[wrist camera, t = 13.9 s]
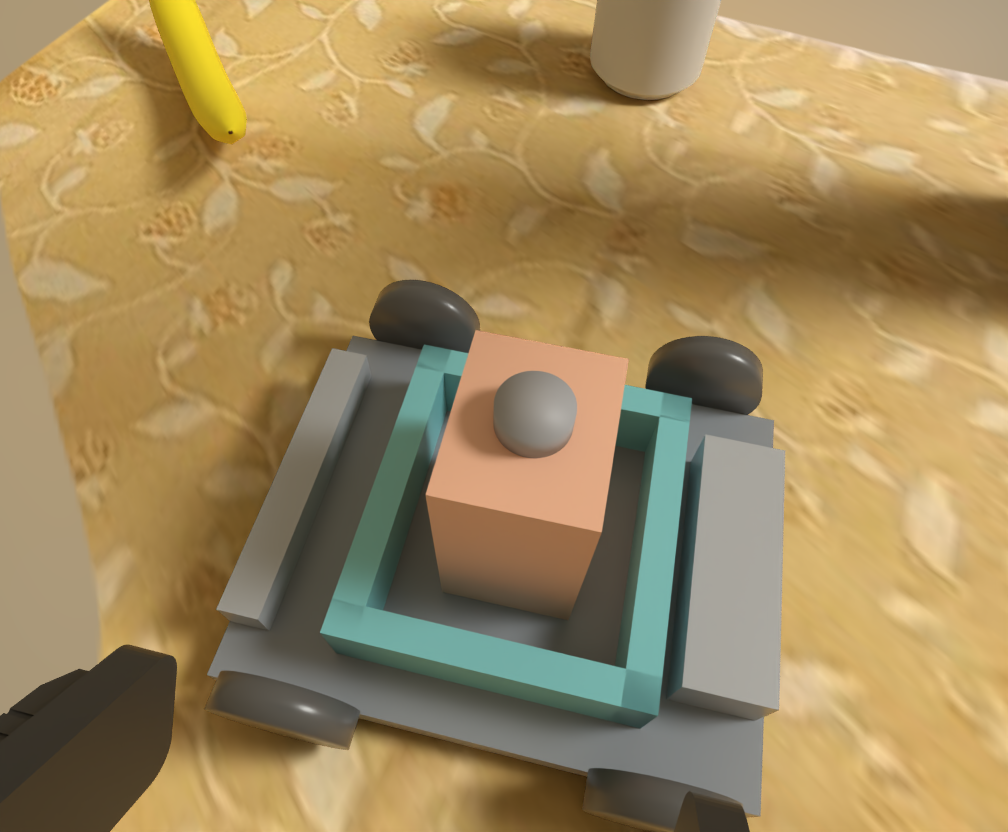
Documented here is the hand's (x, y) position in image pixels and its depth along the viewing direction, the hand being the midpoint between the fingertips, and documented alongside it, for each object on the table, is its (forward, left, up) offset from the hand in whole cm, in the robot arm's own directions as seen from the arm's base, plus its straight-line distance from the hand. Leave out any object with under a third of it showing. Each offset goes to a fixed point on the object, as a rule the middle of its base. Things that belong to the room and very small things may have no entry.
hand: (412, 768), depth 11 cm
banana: (-34, -25, -17) cm, 45 cm away
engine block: (-10, 0, -15) cm, 18 cm away
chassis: (-10, 0, -17) cm, 19 cm away
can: (-45, +1, -17) cm, 48 cm away
